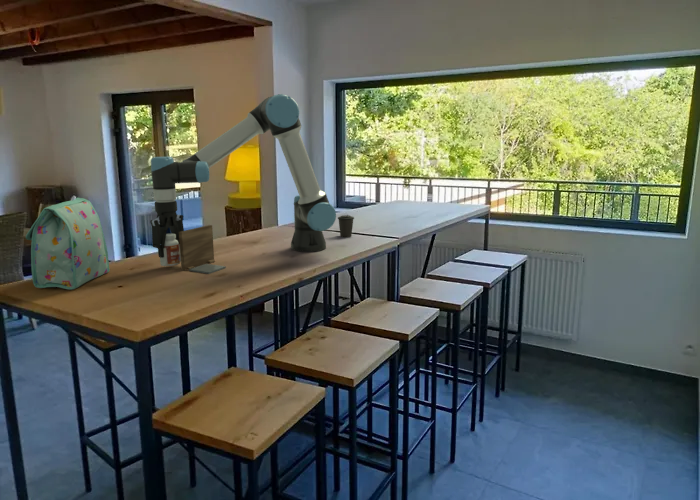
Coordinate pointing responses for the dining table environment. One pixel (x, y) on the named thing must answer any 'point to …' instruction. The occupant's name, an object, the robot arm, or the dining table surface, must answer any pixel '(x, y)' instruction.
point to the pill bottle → (172, 249)
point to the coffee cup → (345, 225)
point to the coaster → (207, 268)
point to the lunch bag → (67, 245)
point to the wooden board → (196, 247)
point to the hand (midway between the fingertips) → (171, 263)
